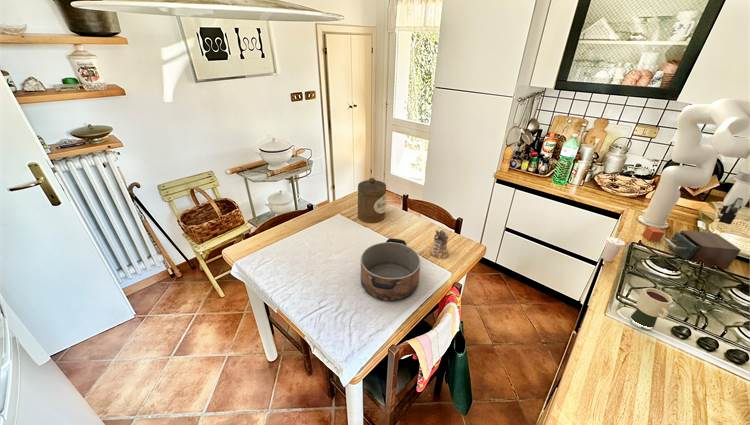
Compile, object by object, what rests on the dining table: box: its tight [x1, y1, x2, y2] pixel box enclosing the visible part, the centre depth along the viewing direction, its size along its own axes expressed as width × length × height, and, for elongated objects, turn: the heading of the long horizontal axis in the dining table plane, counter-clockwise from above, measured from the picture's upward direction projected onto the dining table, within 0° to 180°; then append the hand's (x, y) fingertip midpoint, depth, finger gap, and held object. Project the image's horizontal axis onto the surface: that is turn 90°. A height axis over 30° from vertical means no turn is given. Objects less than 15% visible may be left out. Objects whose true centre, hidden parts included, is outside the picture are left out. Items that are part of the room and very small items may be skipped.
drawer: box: [663, 231, 700, 260], centre depth 134 cm, size 18×12×8 cm, turn 80°
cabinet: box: [679, 229, 742, 270], centre depth 133 cm, size 14×13×10 cm
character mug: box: [630, 287, 673, 328], centre depth 99 cm, size 11×7×13 cm, turn 175°
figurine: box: [430, 229, 449, 259], centre depth 132 cm, size 7×7×12 cm
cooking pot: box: [360, 237, 421, 302], centre depth 116 cm, size 30×22×11 cm
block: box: [642, 225, 665, 242], centre depth 148 cm, size 5×5×5 cm
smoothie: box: [601, 231, 626, 263], centre depth 130 cm, size 6×6×14 cm
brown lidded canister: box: [357, 177, 387, 224], centre depth 159 cm, size 15×15×22 cm
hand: (724, 218), depth 119 cm, fingers open, 9 cm apart
